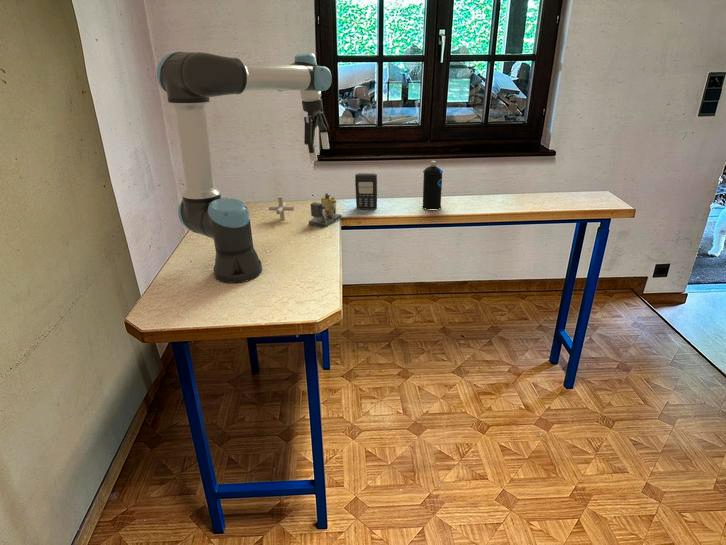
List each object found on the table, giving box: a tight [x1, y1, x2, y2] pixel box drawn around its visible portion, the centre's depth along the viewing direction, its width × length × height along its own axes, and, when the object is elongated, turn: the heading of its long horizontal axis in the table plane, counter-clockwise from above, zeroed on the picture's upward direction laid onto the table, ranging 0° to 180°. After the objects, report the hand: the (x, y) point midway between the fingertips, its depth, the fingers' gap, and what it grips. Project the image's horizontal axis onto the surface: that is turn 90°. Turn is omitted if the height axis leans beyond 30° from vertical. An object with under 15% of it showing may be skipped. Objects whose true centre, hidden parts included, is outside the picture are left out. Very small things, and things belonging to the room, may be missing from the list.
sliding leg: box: [320, 192, 337, 215], centre depth 194 cm, size 4×6×8 cm, turn 60°
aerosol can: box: [421, 160, 444, 210], centre depth 201 cm, size 8×8×20 cm
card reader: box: [354, 173, 378, 210], centre depth 204 cm, size 9×4×15 cm, turn 83°
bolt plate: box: [308, 202, 342, 228], centre depth 192 cm, size 12×8×8 cm, turn 150°
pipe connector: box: [268, 195, 295, 222], centre depth 194 cm, size 10×10×10 cm
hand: (320, 154), depth 188 cm, fingers open, 13 cm apart
